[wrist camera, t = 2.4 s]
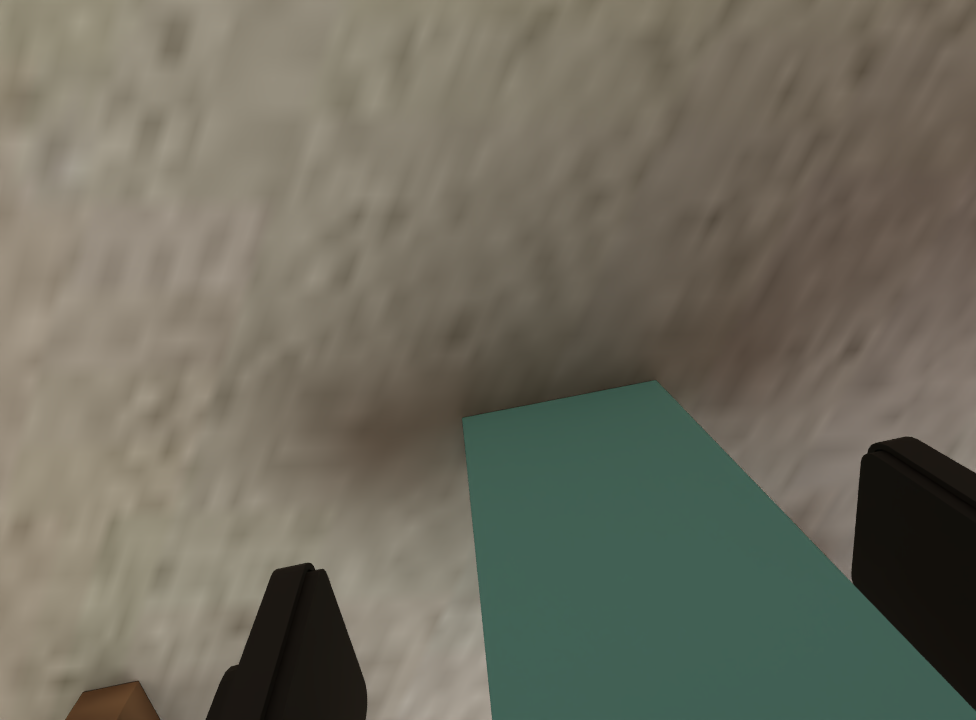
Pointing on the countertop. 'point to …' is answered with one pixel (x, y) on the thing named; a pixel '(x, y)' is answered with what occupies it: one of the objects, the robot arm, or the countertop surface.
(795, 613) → the domino
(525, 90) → the countertop surface
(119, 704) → the domino
